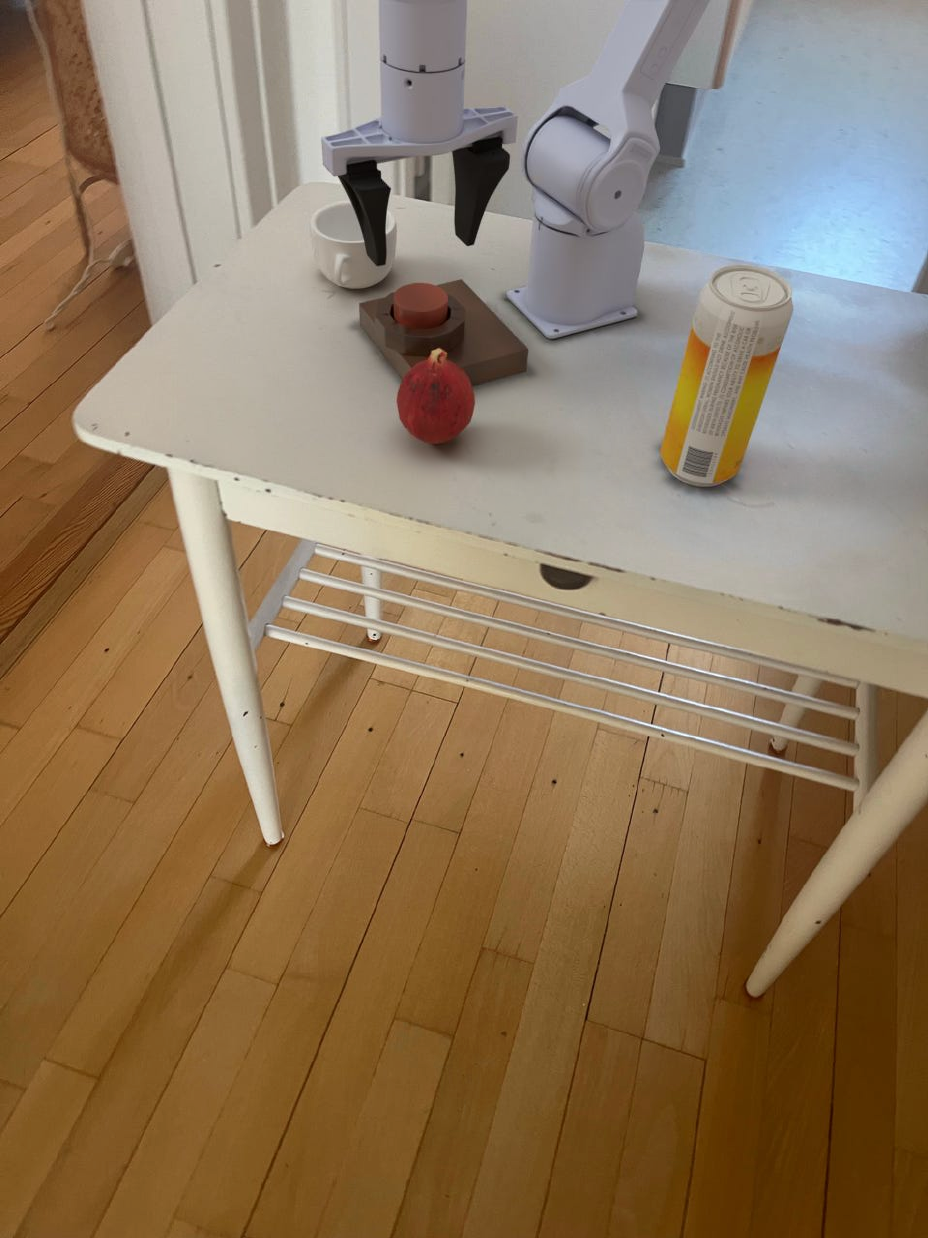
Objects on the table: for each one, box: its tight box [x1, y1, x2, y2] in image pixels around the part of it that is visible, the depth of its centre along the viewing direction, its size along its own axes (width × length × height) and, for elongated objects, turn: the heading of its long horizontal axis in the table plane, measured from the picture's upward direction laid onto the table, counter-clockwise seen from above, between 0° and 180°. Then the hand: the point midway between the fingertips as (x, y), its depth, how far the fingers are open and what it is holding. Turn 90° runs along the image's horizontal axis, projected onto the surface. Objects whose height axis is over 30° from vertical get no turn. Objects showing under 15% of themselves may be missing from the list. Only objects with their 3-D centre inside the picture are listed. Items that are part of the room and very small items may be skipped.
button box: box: [358, 278, 529, 387], centre depth 80 cm, size 11×12×4 cm
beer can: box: [660, 264, 794, 488], centre depth 67 cm, size 6×6×15 cm
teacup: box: [309, 199, 398, 290], centre depth 86 cm, size 10×8×5 cm
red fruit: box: [396, 348, 476, 445], centre depth 70 cm, size 6×6×8 cm
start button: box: [393, 282, 448, 329], centre depth 78 cm, size 4×4×2 cm
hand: (421, 249), depth 74 cm, fingers open, 7 cm apart
